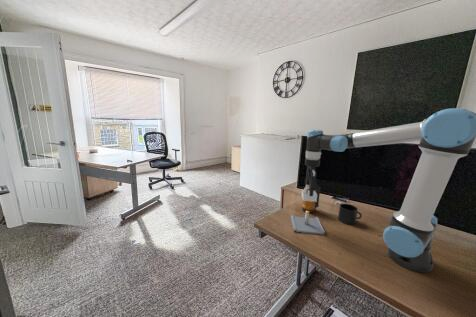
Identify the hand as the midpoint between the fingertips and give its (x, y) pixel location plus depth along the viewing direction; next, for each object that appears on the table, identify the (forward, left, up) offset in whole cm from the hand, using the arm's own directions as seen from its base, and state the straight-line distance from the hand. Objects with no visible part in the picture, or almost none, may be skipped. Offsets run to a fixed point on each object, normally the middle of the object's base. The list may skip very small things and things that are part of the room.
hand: (308, 198), depth 108 cm
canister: (+20, -6, -17) cm, 27 cm away
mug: (+10, -27, -17) cm, 33 cm away
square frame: (0, 0, 0) cm, 0 cm away
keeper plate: (0, 0, -17) cm, 17 cm away
